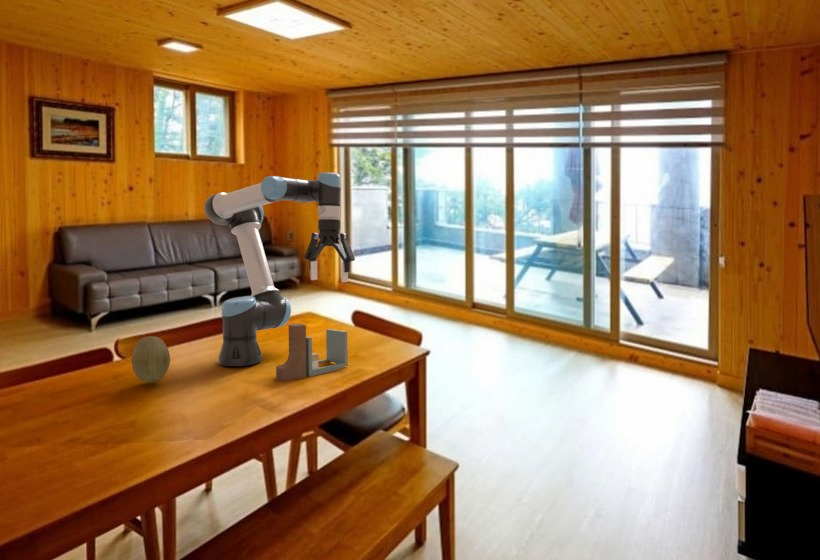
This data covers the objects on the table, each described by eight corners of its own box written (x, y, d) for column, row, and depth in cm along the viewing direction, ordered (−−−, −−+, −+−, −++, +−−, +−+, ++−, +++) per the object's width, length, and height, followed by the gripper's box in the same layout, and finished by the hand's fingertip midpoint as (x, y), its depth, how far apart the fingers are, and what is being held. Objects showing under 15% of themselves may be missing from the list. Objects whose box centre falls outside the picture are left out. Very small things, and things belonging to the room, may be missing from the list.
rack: (291, 372, 190) (290, 335, 189) (329, 364, 203) (328, 329, 202) (309, 376, 183) (308, 338, 183) (347, 367, 196) (347, 331, 196)
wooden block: (281, 382, 178) (280, 327, 176) (275, 379, 182) (275, 325, 180) (306, 378, 183) (306, 325, 182) (301, 375, 187) (300, 323, 185)
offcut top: (299, 359, 190) (299, 352, 190) (306, 357, 193) (306, 351, 193) (311, 361, 186) (311, 355, 186) (318, 360, 189) (318, 353, 188)
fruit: (178, 378, 182) (176, 333, 181) (152, 387, 171) (150, 339, 170) (150, 376, 186) (149, 332, 185) (123, 384, 175) (121, 337, 174)
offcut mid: (298, 365, 191) (298, 359, 191) (305, 364, 193) (305, 357, 193) (311, 368, 186) (311, 361, 186) (318, 367, 189) (318, 360, 188)
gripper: (294, 218, 191) (294, 279, 193) (351, 218, 178) (351, 283, 180) (308, 219, 197) (308, 278, 199) (365, 219, 185) (364, 282, 186)
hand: (329, 281), depth 189 cm, fingers open, 13 cm apart
